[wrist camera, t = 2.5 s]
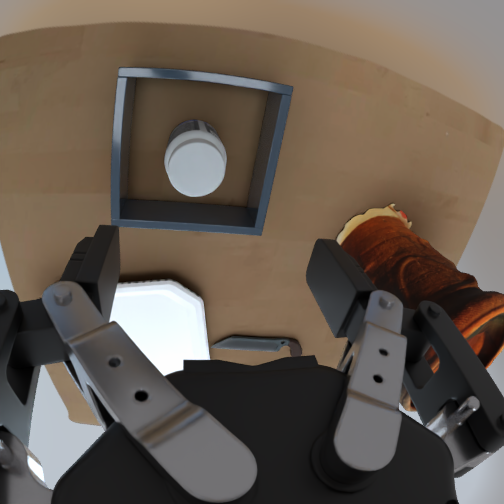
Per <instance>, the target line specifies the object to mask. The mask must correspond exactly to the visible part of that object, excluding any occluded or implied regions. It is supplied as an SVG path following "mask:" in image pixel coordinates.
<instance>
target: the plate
mask: <svg viewBox="0 0 504 504" xmlns="http://www.w3.org/2000/svg"><path fill="white" fill-rule="evenodd" d="M112 321H116V322H117V323H118V324H119V325H120V326H121V327H122V329H123V330H124V331H125V332H126V333H127V335H128V336H129V337H130V338H131V339H132V341H133V342H134V343H135V344H136V345H137V346H138V348H139V349H140V350H141V351H142V352H143V353H144V354H145V356H146V357H147V358H148V359H149V360H150V361H151V362H152V363H153V364H154V366H155V367H156V368H157V369H158V370H159V371H160V372H161V373H162V374H163V375H164V376H165V375H167V374H169V373H172V372H175V371H179V370H183V360H210V355H209V347H208V338H207V330H206V321H205V312H204V302H203V300H202V298H201V297H200V296H199V295H197V294H196V293H194V292H192V291H191V290H189V289H188V288H186V287H185V286H183V285H181V284H180V283H178V282H177V281H175V280H172V279H160V280H148V281H135V282H122V283H118V284H117V288H116V292H115V297H114V301H113V306H112V311H111V316H110V321H109V322H112Z"/></svg>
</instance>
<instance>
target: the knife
mask: <svg viewBox="0 0 504 504" xmlns="http://www.w3.org/2000/svg"><path fill="white" fill-rule="evenodd" d="M282 341H284V342H282ZM282 346H289V347H291V356H292V357H298V356H301V354H302V349H301V347H300V344H299V343H298V342H297V341H296V340H294V339H286V338H277V339H270V338H255V337H241V336H232V337H231V338H227V339H225V340H223V341H221V342H218V343H216V344H215V345H213V346H212V347H211V348H221V349H235V350H251V351H272V352H276V351H279V350H280V348H281V347H282Z"/></svg>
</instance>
